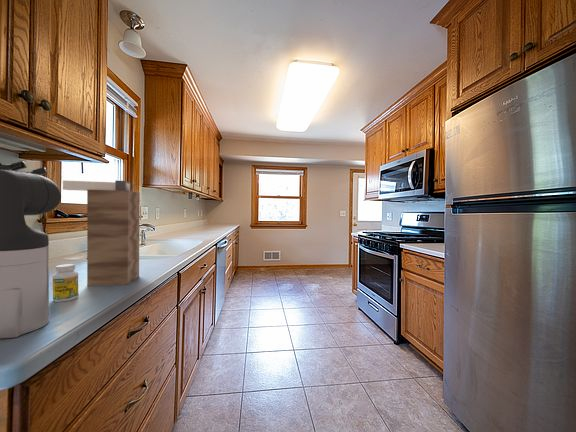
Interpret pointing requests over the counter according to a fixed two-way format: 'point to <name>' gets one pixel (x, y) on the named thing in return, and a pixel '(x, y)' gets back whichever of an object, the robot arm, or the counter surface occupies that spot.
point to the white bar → (97, 185)
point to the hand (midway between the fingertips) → (36, 167)
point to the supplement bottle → (65, 283)
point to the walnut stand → (112, 237)
